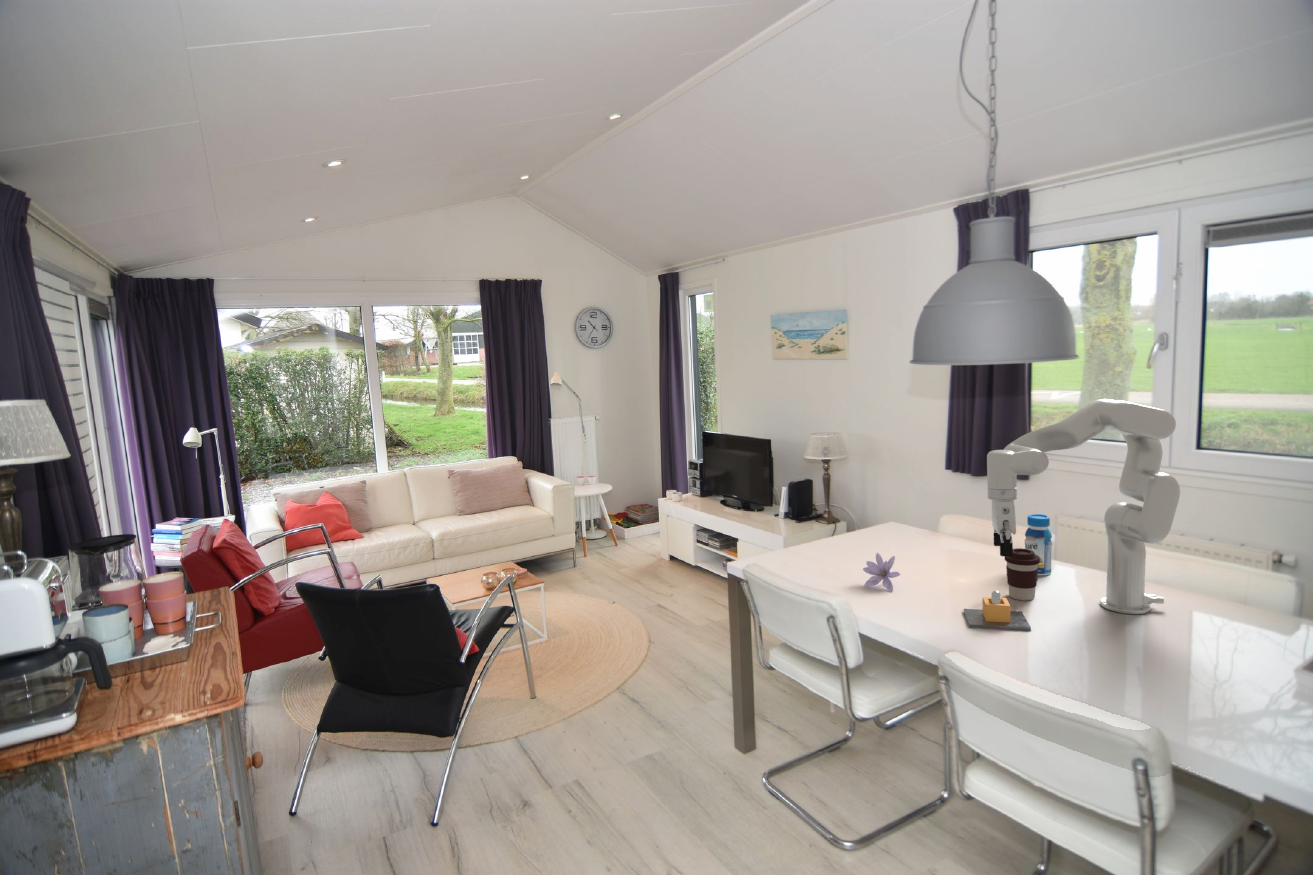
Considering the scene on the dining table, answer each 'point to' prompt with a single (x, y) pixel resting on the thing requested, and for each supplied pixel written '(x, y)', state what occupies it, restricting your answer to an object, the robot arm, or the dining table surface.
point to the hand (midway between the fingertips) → (1003, 550)
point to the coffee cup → (1022, 573)
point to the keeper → (978, 621)
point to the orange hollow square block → (996, 610)
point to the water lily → (880, 572)
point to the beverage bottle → (1040, 541)
